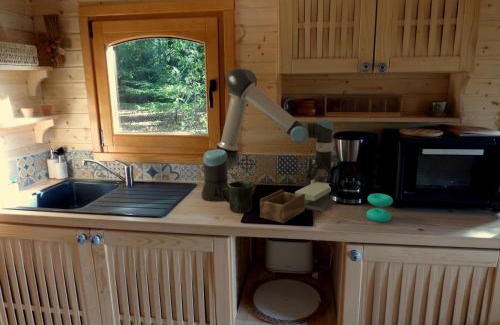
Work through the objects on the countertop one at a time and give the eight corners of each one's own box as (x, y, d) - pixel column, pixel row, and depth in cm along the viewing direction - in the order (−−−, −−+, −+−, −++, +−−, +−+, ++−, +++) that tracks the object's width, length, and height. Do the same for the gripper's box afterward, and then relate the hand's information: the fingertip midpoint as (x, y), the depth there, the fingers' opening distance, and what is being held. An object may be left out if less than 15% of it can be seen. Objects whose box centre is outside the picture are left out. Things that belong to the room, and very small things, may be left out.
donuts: (369, 199, 145) (366, 192, 154) (367, 222, 147) (364, 213, 156) (395, 200, 143) (390, 193, 152) (393, 223, 145) (388, 215, 155)
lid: (294, 196, 166) (295, 191, 166) (315, 186, 183) (316, 181, 183) (314, 201, 160) (314, 195, 160) (334, 189, 178) (334, 184, 177)
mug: (249, 214, 156) (249, 188, 153) (218, 211, 160) (217, 186, 157) (255, 206, 166) (255, 182, 163) (226, 204, 170) (225, 179, 167)
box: (259, 217, 153) (260, 199, 151) (281, 205, 167) (282, 189, 165) (283, 223, 146) (284, 204, 144) (304, 210, 160) (304, 193, 158)
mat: (286, 204, 169) (286, 203, 168) (311, 191, 189) (311, 189, 189) (321, 212, 158) (321, 211, 158) (343, 197, 179) (343, 196, 178)
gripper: (299, 149, 177) (298, 191, 182) (342, 154, 164) (340, 200, 169) (306, 147, 183) (305, 188, 188) (348, 151, 170) (346, 196, 175)
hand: (322, 193), depth 179 cm, fingers closed on lid, 10 cm apart
